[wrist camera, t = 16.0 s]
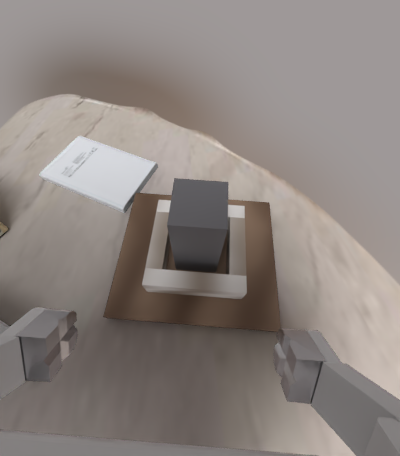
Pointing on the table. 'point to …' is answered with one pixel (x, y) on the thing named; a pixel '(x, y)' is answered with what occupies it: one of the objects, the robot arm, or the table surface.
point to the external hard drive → (100, 172)
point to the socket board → (197, 272)
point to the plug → (198, 223)
